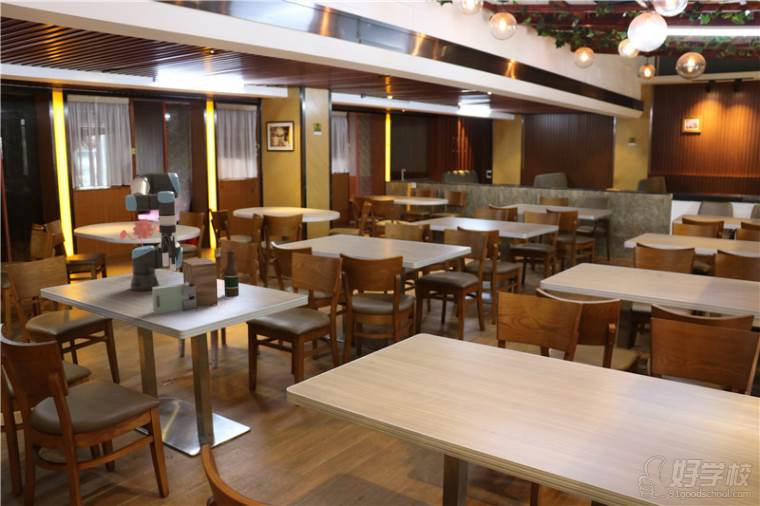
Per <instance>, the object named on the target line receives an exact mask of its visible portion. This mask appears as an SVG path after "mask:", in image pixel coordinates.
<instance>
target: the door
mask: <svg viewBox="0 0 760 506" xmlns="http://www.w3.org/2000/svg"><path fill="white" fill-rule="evenodd" d="M182 287H189V282H185V284H184V283H180V284H179V283H178V284H172V285H171V284H170V285H162V286H161V285H159V287H152V290H151V292H152V293H151V294H152V296H151V297H152V312H153V313H154V314H163V313H171V312H179V311H183V300H190V294H186V295H183V288H182Z"/></svg>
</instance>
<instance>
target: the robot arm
mask: <svg viewBox="0 0 760 506" xmlns="http://www.w3.org/2000/svg"><path fill="white" fill-rule="evenodd" d="M129 187H130V191H131V194H127V195H126V196H125V208H126V210H127V211H132V212H133V211H134V212H135V211H138V212H139V211H158V217H157V220H158V224H159V231H158V232H159V234H160V243H158V245H157V247H158V248H156V247H155V246H154V245H143V247H142V246H139V247H136V248H133V250H132V251H131V259H132V260H131V262H132V269H133V273H132V278H131V281H130V286H129V287H130V290H131V291H134V292H136V291H137V292H147V291H152V287H160V283H159V280H158V276H157V274H156V270H166V269H167V270H169V272H176V271H177V269H179V268H181V266H182V265H183V262H182V260H183V252H184V249H183V247H181V244H180V243H179V242H178V238H177V237H178V235H177V234H178V231H177V230H178V229H177V213H176V212H177V209H176V208H177V207H176V200H177V199H178V198H179V195H181V193H182V192H181V187H180V181H179V176H178V174H177V173H175V172H145V173H141V174H139V175H138V176H136V177H134V178H133V179H132V180H131V182H130V186H129Z"/></svg>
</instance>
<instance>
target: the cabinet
mask: <svg viewBox="0 0 760 506" xmlns="http://www.w3.org/2000/svg"><path fill="white" fill-rule="evenodd" d="M217 267H218V263H217V262H216V261H214V260H212V259H210V258H208V257H202V258H201V257H200V258H189V259H182V272H183V273H182V275H183V284H185V282H189V283H193V284H194V285H196V308H200V307H201V308H202V307H209V306H216V305H217V306H218V305H219V304H218V302H219V299H218V273H217Z"/></svg>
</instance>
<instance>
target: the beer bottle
mask: <svg viewBox="0 0 760 506" xmlns="http://www.w3.org/2000/svg"><path fill="white" fill-rule="evenodd" d="M226 254H227V261H226V262H227V263H226V266H225V268H224V271H223V284H224V285H223V287H224V296H225V297H230V298H231V297H232V298H233V297H238V296H239V293H240V292H239V291H240V290H239V286H240V285H239V284H240V283H239V271H238V268H237V266H236V264H235V255H234V254H235V251H234V250H227V252H226Z"/></svg>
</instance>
